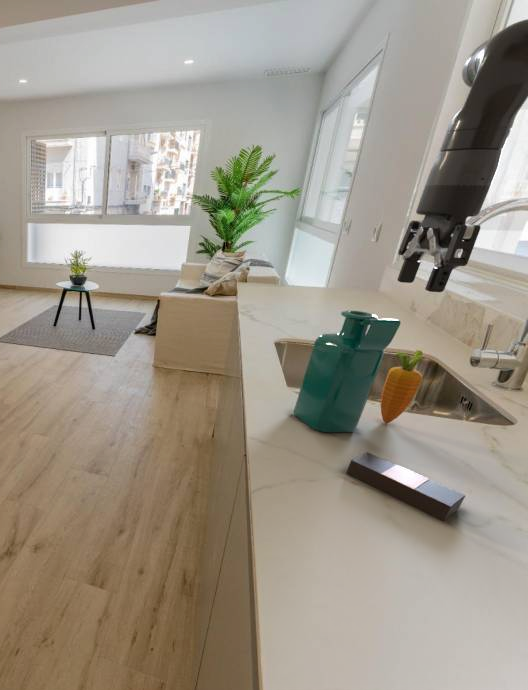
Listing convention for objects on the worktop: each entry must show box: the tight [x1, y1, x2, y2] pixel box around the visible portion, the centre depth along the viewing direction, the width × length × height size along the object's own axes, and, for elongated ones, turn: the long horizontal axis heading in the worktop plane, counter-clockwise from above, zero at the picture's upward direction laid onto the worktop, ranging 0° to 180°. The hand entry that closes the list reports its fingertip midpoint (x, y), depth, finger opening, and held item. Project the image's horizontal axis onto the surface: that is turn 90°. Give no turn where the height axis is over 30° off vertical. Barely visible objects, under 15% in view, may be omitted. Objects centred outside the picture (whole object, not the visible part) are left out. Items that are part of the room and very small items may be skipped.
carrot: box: [380, 349, 423, 424], centre depth 80 cm, size 5×5×15 cm
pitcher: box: [293, 309, 401, 433], centre depth 77 cm, size 10×8×22 cm
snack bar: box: [346, 451, 466, 522], centre depth 63 cm, size 5×12×3 cm, turn 29°
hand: (418, 286), depth 72 cm, fingers open, 8 cm apart
